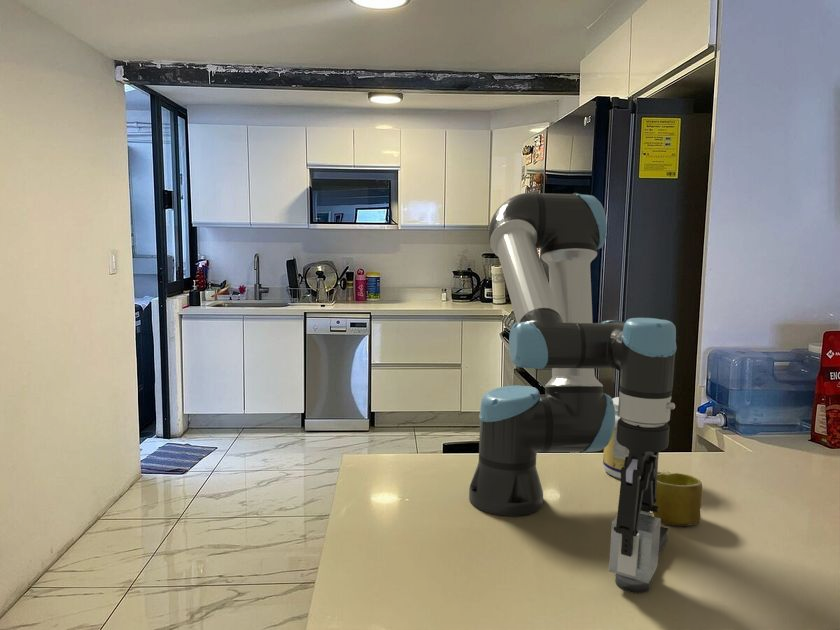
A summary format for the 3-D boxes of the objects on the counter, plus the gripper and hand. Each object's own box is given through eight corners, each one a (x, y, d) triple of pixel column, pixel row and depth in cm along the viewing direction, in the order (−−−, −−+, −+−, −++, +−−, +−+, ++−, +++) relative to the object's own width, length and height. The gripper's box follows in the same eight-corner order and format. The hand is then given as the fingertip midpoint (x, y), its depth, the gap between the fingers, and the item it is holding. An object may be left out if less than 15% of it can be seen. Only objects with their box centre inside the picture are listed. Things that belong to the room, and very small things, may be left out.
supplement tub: (612, 459, 154) (616, 392, 152) (663, 471, 147) (668, 401, 145) (594, 474, 145) (598, 403, 142) (648, 487, 137) (653, 412, 135)
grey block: (608, 571, 98) (611, 522, 97) (619, 555, 103) (622, 508, 102) (648, 583, 95) (652, 533, 94) (657, 566, 100) (660, 518, 99)
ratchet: (643, 535, 115) (646, 501, 115) (673, 543, 113) (676, 508, 112) (611, 586, 98) (613, 547, 97) (645, 597, 95) (648, 556, 95)
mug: (717, 525, 116) (701, 471, 117) (660, 536, 118) (645, 483, 119) (705, 510, 127) (690, 461, 129) (653, 520, 130) (639, 472, 131)
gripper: (653, 443, 85) (642, 600, 88) (682, 409, 102) (672, 541, 105) (598, 432, 89) (589, 583, 92) (635, 401, 106) (627, 529, 109)
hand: (634, 560), depth 98 cm, fingers open, 8 cm apart
